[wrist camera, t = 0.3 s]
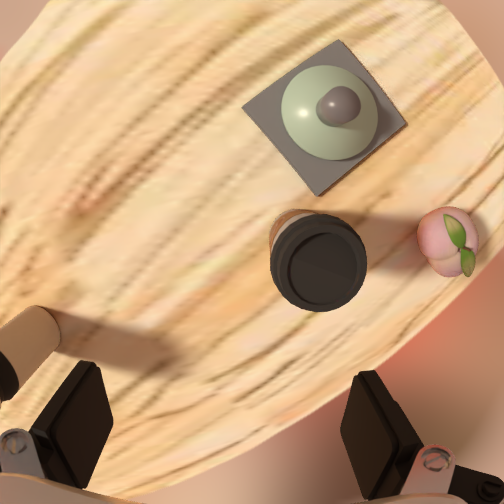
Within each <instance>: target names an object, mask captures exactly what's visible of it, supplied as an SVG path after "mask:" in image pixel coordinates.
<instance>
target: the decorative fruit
mask: <svg viewBox="0 0 504 504" xmlns="http://www.w3.org/2000/svg"><path fill="white" fill-rule="evenodd" d="M417 241H418V245H419V248H420V251H421V252H422V253H423V254H424V255H425V256H426V258H427V260H428V262H429V264H430V265H431V266H432V268H433V269H434V270H435V271H436V272H437V273H438V274H440V275H442V276H444V277H455V276H458V275H460V274H462V273H464V275H465V276H466V277H469V276H470V275H471V274H472V272H473V270H474V267H475V255H476V253H477V250H478V243H479V239H478V233H477V230H476V227H475V225H474V223H473V222H472V220H471V218H470V217H469V216H468V215H467V214H466V213H465V212H464V211H462V210H461V209H459V208H456V207H441V208H438V209H436V210H433V211H431V212H430V213H428V214H426V215H425V216H424V217H423V218H422V220H421V221H420V223H419V226H418V230H417Z"/></svg>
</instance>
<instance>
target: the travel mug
mask: <svg viewBox="0 0 504 504" xmlns="http://www.w3.org/2000/svg"><path fill="white" fill-rule="evenodd" d="M59 343H60V331H59V328H58V325H57V323H56V321H55V320H54V318H53V317H52V316H51V315H50V314H49V313H48V312H47V311H46V310H44V309H43V308H41V307H38V306H30V307H28V308H26V309H25V310H24V311H22V312H21V313H20V314H18V315H17V316H16V317H14V318H13V319H12V320H10V321H9V322H8V323H7V324H5V325H4V326H3V327H1V328H0V409H1V403H2V401H7V400H10V399H12V398H13V396H14V395H15V394H16V393H17V392H18V390H19V389H20V388H21V387H22V386H23V385H24V384H25V382H26V381H27V380H28V379H29V378H30V377H31V376H32V374H33V373H34V372H35V371H36V370H37V369H38V368H39V366H40V365H41V364H42V363H43V362H44V361H45V360H46V359H47V358H48V357H49V355H50V354H51V353H52V352H53V351H54V350H55V349H56V348H57V347H58V345H59Z"/></svg>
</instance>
